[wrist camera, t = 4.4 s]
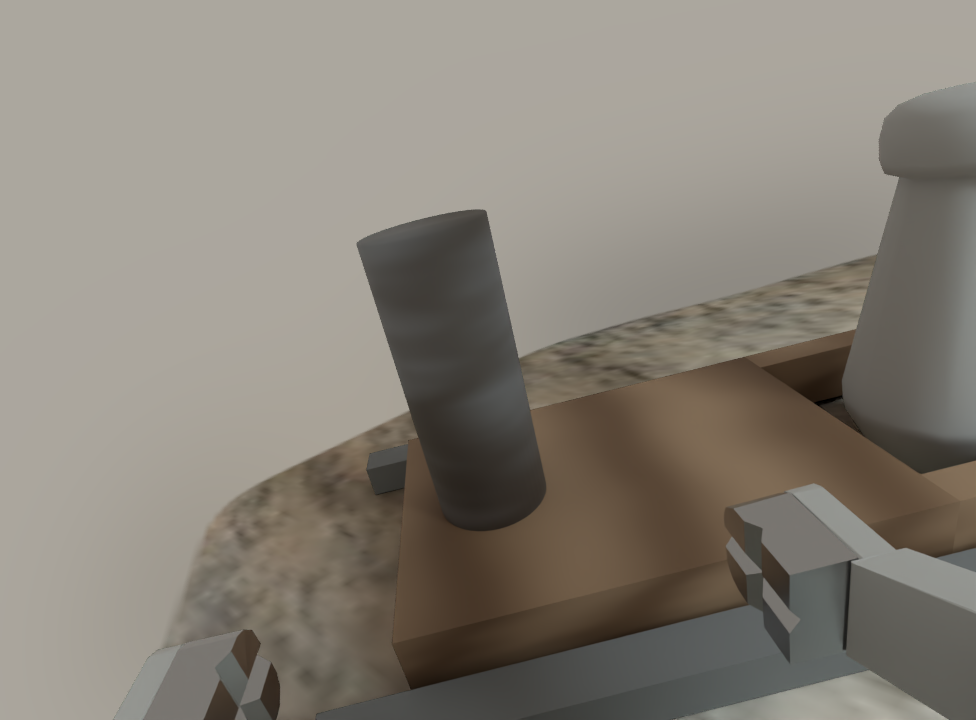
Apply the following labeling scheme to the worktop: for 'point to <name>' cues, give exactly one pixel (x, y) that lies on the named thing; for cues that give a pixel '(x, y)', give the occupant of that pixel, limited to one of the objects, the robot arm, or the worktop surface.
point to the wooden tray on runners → (598, 472)
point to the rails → (614, 666)
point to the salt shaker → (922, 291)
